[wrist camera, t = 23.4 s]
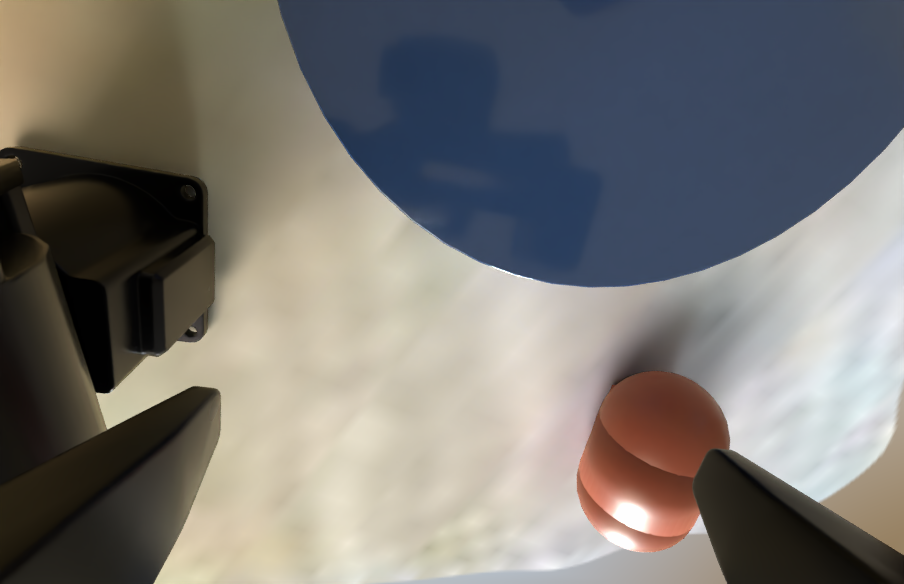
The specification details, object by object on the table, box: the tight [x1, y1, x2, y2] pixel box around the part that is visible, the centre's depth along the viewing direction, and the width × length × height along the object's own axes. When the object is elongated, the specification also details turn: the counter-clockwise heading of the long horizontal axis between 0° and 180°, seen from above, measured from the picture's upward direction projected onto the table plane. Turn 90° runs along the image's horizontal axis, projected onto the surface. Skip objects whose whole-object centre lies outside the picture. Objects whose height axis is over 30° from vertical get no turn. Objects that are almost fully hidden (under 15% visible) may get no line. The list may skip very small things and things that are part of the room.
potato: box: [577, 371, 730, 552], centre depth 20 cm, size 5×8×5 cm, turn 169°
